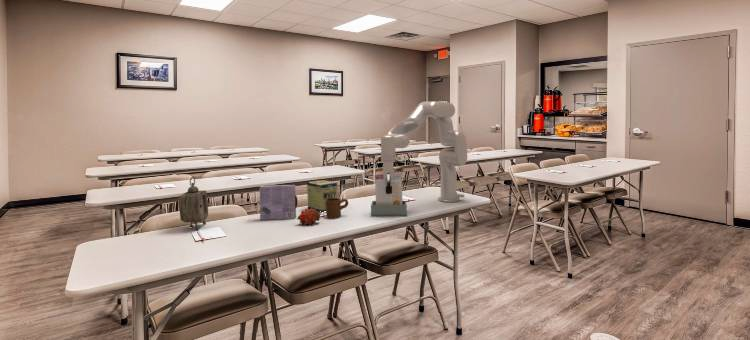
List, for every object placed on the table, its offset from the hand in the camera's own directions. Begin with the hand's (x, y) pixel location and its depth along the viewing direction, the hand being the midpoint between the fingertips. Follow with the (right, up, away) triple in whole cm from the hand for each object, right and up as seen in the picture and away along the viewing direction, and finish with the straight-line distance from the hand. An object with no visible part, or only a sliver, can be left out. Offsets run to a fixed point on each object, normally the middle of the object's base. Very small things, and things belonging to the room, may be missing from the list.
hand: (389, 192), depth 230 cm
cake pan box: (-57, -14, -4) cm, 59 cm away
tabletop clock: (-95, -17, -18) cm, 98 cm away
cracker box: (0, -10, +1) cm, 10 cm away
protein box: (-37, -11, +16) cm, 42 cm away
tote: (0, -12, +2) cm, 12 cm away
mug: (-27, -13, -2) cm, 30 cm away
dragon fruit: (-40, -15, -16) cm, 46 cm away
